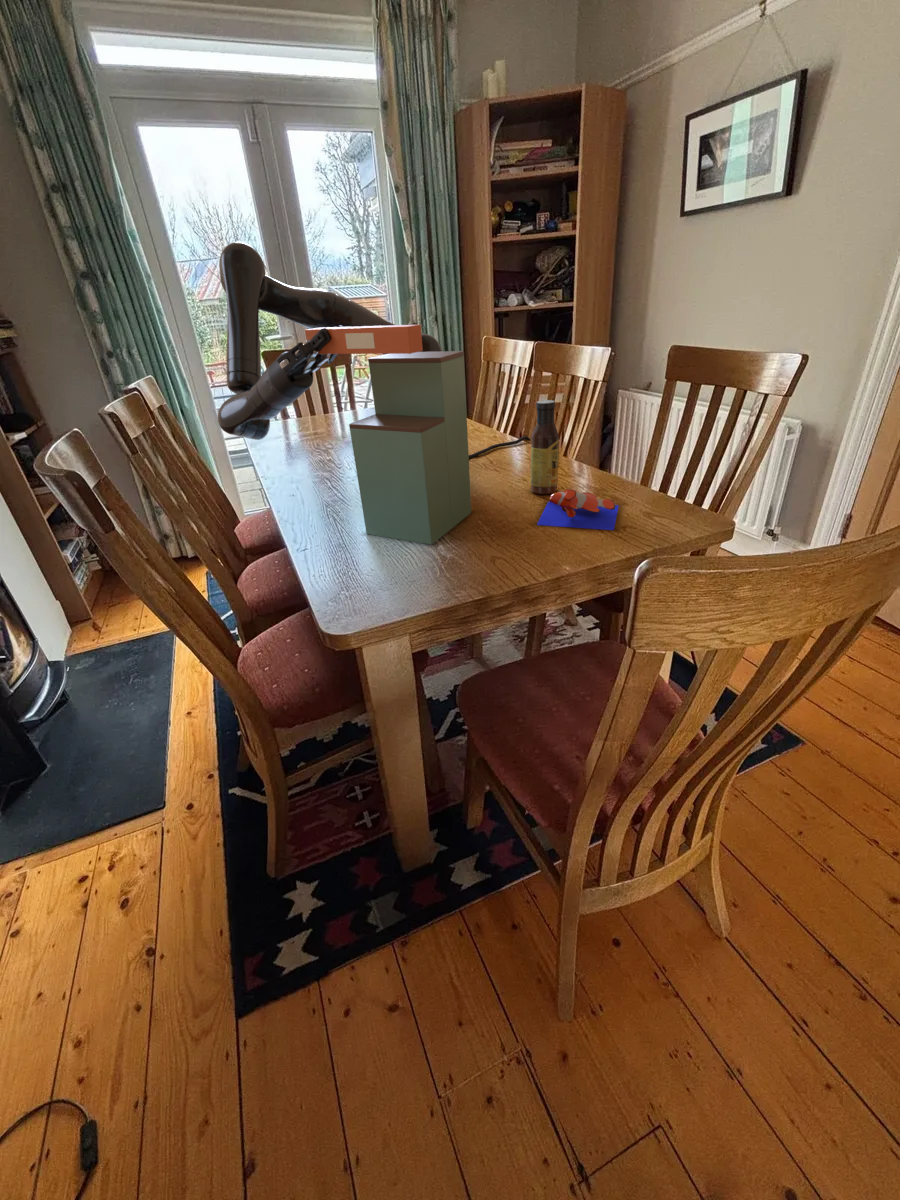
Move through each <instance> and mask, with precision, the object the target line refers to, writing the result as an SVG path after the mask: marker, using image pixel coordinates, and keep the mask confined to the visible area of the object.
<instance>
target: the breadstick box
mask: <svg viewBox="0 0 900 1200" xmlns="http://www.w3.org/2000/svg"><path fill="white" fill-rule="evenodd" d="M321 329H322V328H314V329H310V328H306V329H304V333H305V339H306V340H305V341H307V340H308V339H312V338H313V337H314V336H315V335H316V334H317V333H318V332H319V331H320V330H321ZM326 329H327V330H328V332H329V334H330V336H331V340H330V341H329V342H328V343H327V344H326V345H325V346H324V347H323V348H322V349H321V350H320V351H318V354H338V355H371V354H372V355H383V354H411V353H415V352H419V351H423V348H422V334H421V333H422V324H395V325H388V326H358V327H327V328H326Z"/></svg>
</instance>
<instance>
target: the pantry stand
mask: <svg viewBox="0 0 900 1200" xmlns="http://www.w3.org/2000/svg"><path fill="white" fill-rule="evenodd" d="M464 352H465V351H463V350H451V351H450V350H448V351H447V350H445V351H443V350H442V351H439V352H415V353H411V354H385V355H383V354H380V355H377V356H373V357H369V358H367V361H368V367H369V368H368V369H369V375H370V383H371V390H372V391H371V392H372V398H373V405H374V413H375V414H372V415H370V416H366V417H364V418H362V419H359V420H356V421H353V422H351V423H349V424H348V427H349V433H350V438H351V446H352V451H353V458H354V464H355V471H356V476H357V483H358V488H359V489H358V490H359V496H360V502H361V506H362V514H363V520H364V527H365V532H366V535H371V536H375V537H376V536H378V537H382V538H388V539H394V540H400V541H406V542H411V543H412V542H413V543H417V544H424V545H431V546H432V545H433V544H435V543H436V542H437V541H438V540H439V539H441V538H442V537H443V536H445V535H446V534H447V533H449V532H450V531H451V530H453V529H454V528H455V527H456V526H457V525H459V524H460V523H461V522H462V521H463V520H464V519H466V518H467V517H468V516H469V515H471V514H472V497H471V496H472V495H471V478H470V477H471V476H470V474H471V473H470V459H469V455H470V453H469V438H468V437H469V435H468V432H469V431H468V415H467V393H466V373H465V372H466V371H465V353H464Z"/></svg>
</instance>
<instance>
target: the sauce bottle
mask: <svg viewBox="0 0 900 1200" xmlns="http://www.w3.org/2000/svg"><path fill="white" fill-rule="evenodd" d="M535 408H536V425H535V426H534V428H533V429H532V431H531V438H530V440H531V446H530V490H531V492H532V493H534V494H536V495H549V494H550V495H551V494H553V493H556V492H557V489H558V484H559V463H560V461H559V460H560V436H559V433H558V428H557V426H556V423H555V409H556V401H555V400H552V399H544V400H538V401H536V405H535Z"/></svg>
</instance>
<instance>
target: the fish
mask: <svg viewBox="0 0 900 1200" xmlns="http://www.w3.org/2000/svg"><path fill="white" fill-rule="evenodd" d="M548 500H549V502H550V503H552V504H554V505H555V506H557V507H560V508H561V510H562V511H563V512H564V513H566V516H567V517H568V518H574V517H575V516H576V515H577V512H576V511H575V510H578V509H581V510H585V511H588V512H590V513H593V514H598V513H600V512H601V509H600V508H603V509H606V510H610V511H614V510H615V509H616V505H617V504H615V501H614V500H613V499H611V498H603V499H598V498H597V495H596V494H594V493H592V492H588V491H585V492H579V491H576V490H574V489H572V488H566V489H564V490H561V491H555V492H553V493H551V494H550V496H549V498H548Z"/></svg>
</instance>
